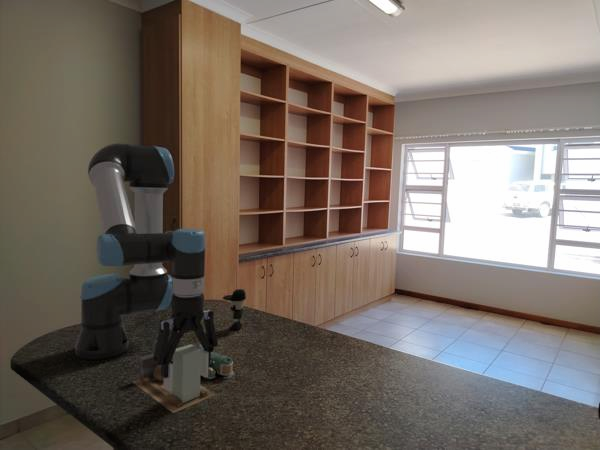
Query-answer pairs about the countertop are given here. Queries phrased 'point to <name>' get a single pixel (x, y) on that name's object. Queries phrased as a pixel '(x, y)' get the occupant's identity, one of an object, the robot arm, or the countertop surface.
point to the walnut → (158, 373)
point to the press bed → (158, 390)
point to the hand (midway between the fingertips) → (186, 382)
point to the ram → (186, 373)
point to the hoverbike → (218, 365)
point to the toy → (236, 307)
